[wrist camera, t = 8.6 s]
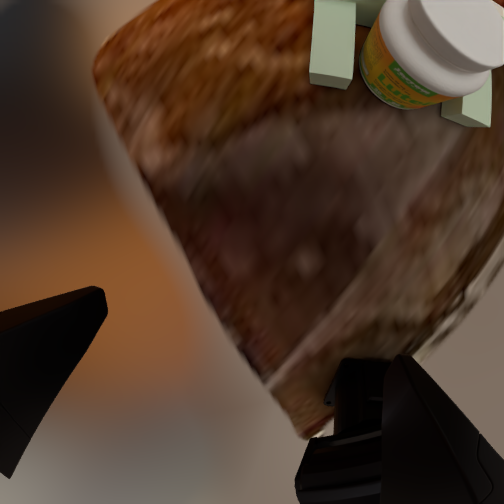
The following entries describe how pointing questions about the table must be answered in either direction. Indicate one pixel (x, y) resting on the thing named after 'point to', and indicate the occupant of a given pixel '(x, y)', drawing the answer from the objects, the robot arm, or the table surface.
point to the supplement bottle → (431, 50)
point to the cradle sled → (342, 57)
